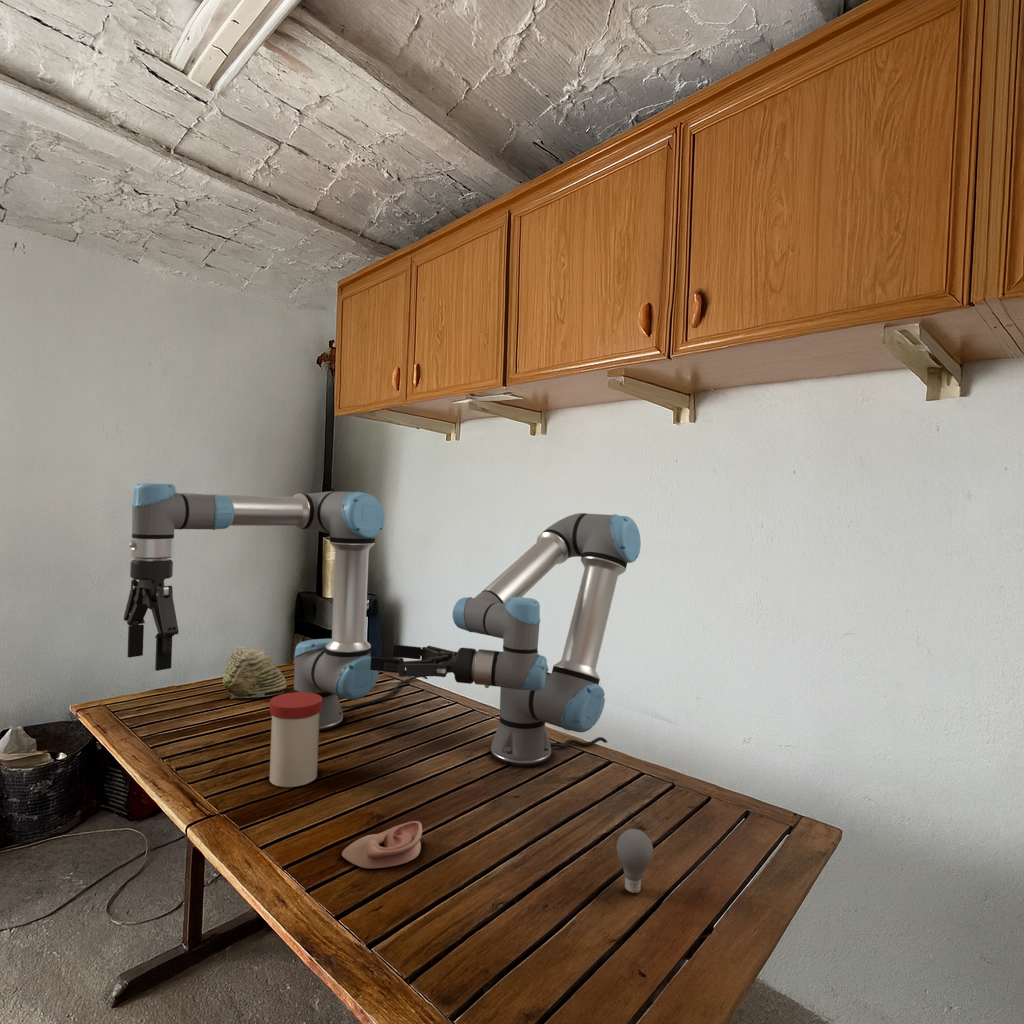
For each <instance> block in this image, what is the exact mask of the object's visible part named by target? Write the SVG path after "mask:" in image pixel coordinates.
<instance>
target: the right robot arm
mask: <svg viewBox="0 0 1024 1024" xmlns="http://www.w3.org/2000/svg"><path fill="white" fill-rule="evenodd" d="M639 530H640V529H639V527H638V524H637V523H636V522H635V521H634V519H633V518H631V517H630V516H627V515H620V514H616V513H615V514H602V513H587V512H586V513H585V512H580V513H573V514H571V515H568V516H566V517H563V518H561V519H559V520H558V521H556V522H554V523H552V524H551V525H550V526H548V527H547V528H545V530H543V531H542V532H541V533H540V534H539V535H538V536H537V539H536V542H535V543H534V544H533V545H532V546H531V547H530V548H529V549H528V550H527V551H526V552H524V553H523V554H522V555H521V556H520V557H518V558H517V560H516V561H514V562H513V563H512V564H511V565H510V566H509V567H507V568H506V569H505V570H504V571H503V572H502V573H500V574H499V576H498V577H496V578H495V579H494V580H493V581H492V582H491V583H489V584H488V585H487V586H486V587H485V588H484V589H483V590H482V591H480V592H479V593H478V594H477V595H476V596H474V597H471V596H469V597H467V596H464V597H461V598H459V599H458V600H457V601H456V602H455V604H454V606H453V607H452V608H453V609H452V620H453V623H454V625H455V626H456V627H457V628H458V629H461V630H464V631H466V632H469V633H474V634H479V635H484V636H489V637H492V638H497V639H502V642H503V643H502V651H499V650H493V649H485V648H484V649H483V648H479V649H478V650H476V648H472V647H460V648H458V650H457V651H453V650H449V649H446V648H441V647H437V646H432V645H426V646H423V647H421V646H412V645H403V644H393V646H392V647H393V648H392V657H393V658H388V657H381V656H370V657H371V665H370V670H375V671H379V672H384V673H385V672H386V673H393V674H398V677H399V678H400V677H401V678H403V677H407V678H412V677H418V676H426V677H439V678H447V675H448V674H451V673H453V675H454V681H455V682H456V683H458V684H467V685H472V684H473V683H474V684H475V685H478V686H479V685H480V686H484V688H486V689H488V688H490V687H498V688H500V689H499V690H500V693H499V721H498V722H499V723H498V726H497V729H496V732H495V733H494V737H493V739H492V741H491V746H490V755H491V757H492V758H493V759H494V760H496V761H497V762H499V763H502V764H504V765H507V766H511V767H526V768H527V767H534V766H540V765H544V764H545V763H547V762H549V761H550V760H551V758H552V747H554V748H559V749H561V748H562V749H565V748H566V747H568V745H569V744H574V745H577V746H580V747H589V746H593V745H595V744H597V743H598V742H603V743H604V744H606V743H608V740H607V739H606V738H604V737H602V736H599V737H596V738H594V739H593V740H590V741H588V742H586V741H585V742H583V741H580V740H575V739H567V740H566V741H565V742H564V743H558V742H557V743H556V742H550V739H549V735H548V731H547V728H546V724H549V725H552V726H554V727H558V728H561V729H563V730H565V731H572V732H575V733H586V732H588V731H590V730H591V729H593V727H594V726H595V725H596V724H597V722H598V721H599V720H600V718H601V716H602V713H603V710H604V707H605V703H606V702H605V701H606V698H605V691H604V689H603V687H602V686H601V685H600V680H601V677H600V676H599V674H598V672H597V665H598V661H599V658H600V653H601V649H602V645H603V641H604V636H605V633H606V628H607V624H608V620H609V615H610V611H611V608H612V603H613V598H614V594H615V590H616V586H617V582H618V577H619V576H620V575H622V574H624V573H625V572H626V571H627V566H628V564H631V563H634V562H636V561H637V559H638V557H639V555H640V552H641V541H642V540H641V534H640V531H639ZM575 557H577V558H578V557H579V558H580V563H582V565H583V567H584V570H583V574H582V578H581V581H580V585H579V589H578V592H577V597H576V601H575V605H574V609H573V614H572V617H571V621H570V624H569V629H568V633H567V636H566V640H565V644H564V648H563V651H562V656H561V659H560V660H559V661H558V662H556V663H555V664H553V666H552V670H551V672H549V666H548V661H547V660H548V659H547V658H546V657H547V656H545V655H541V654H539V650H538V648H539V637H540V636H539V635H540V622H541V616H540V615H541V605H540V602H539V601H538V600H537V599H536V598H532V597H524V596H525V595H526V594H527V593H528V592H530V591H531V589H532V588H534V587H535V585H536V584H538V582H540V581H541V580H542V579H543V578H544V577H545V576H546V575H547V574H548V573H549V572H550V571H551V570H552V569H553V568H554V567H555V566H556V565H561V564H563V563H565V562H566V561H567V560H568V559H572V558H575ZM398 658H399V659H398ZM404 659H410V660H404ZM418 678H419V677H418Z"/></svg>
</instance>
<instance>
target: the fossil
mask: <svg viewBox="0 0 1024 1024" xmlns="http://www.w3.org/2000/svg"><path fill="white" fill-rule="evenodd" d="M222 676H223V677H222V685H223V687H224V688H225V690H226V691H228V693H229V698H230V699H250V698H264V697H271V696H275V695H276V696H277V695H281V694H284V693H285V691H286V689H287V687H288V686H287V680H286V678H285V676H284V674H283V673H282V672H281V669H279V668H278V667H277V665H276V663H275V662H274V660H273V659H272V658H271V657H270V656H269V655H268V654H267V653H266V652H265V650H264V649H263V648H260V647H258V648H251V647H247V646H246V647H245V646H238V647H237V648H236V649H235V650H233V651H232V653H231V656H230V657H229V659H228V660H227V663H226V666H225V668H224V671H223V675H222Z"/></svg>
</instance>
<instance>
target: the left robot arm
mask: <svg viewBox="0 0 1024 1024" xmlns="http://www.w3.org/2000/svg"><path fill="white" fill-rule="evenodd" d="M385 515H386V513H385V511H384V508H383V505H382V503H381V502H380V501H379V500H378V498H377V497H375V495H373V494H370V493H367V492H363V491H362V492H361V491H337V490H336V491H335V490H333V491H332V490H330V491H321V492H311V493H295V494H294V495H293V496H276V495H275V496H274V495H273V496H272V495H248V494H247V495H246V494H244V495H243V494H220V493H219V494H218V493H217V494H216V493H215V494H214V493H189V492H187V493H186V492H177V491H176V486H175V485H174V484H173V483H152V482H139V483H137V484H136V485H135V486H134V488H133V492H132V501H131V520H132V521H131V542H130V543H128V547H129V548H130V549H131V550H130V556H131V558H133V559H132V560H131V561H130V567H129V568H130V571H129V574H130V575H129V576H130V578H131V581H130V590H129V594H128V598H127V603H126V607H125V610H124V615H123V621H124V622H126V624H127V626H128V629H127V630H128V631H127V658H135V657H142V656H144V635H145V634H144V630H145V625H144V624H145V623H146V621H145V619H144V618H145V616H146V615H147V612H148V609H149V610H151V613H152V618H153V620H154V624H155V627H156V631H157V633H156V635H155V636H154V638H155V661H154V663H155V665H154V668H155V669H154V670H155V671H157V672H159V671H164V670H169V669H172V659H173V657H172V655H173V637H175V636H176V635H179V632H180V631H179V625H178V619H177V615H176V614H177V613H176V609H175V603H174V597H173V595H174V593H173V585H165V580H167V579H171V578H172V577H173V575H174V573H173V572H174V561H173V560H172V559H171V558H173V557H174V554H175V553H174V552H175V530H213V531H215V530H224V529H228V528H230V526H233V527H234V526H237V527H238V526H240V527H243V526H246V527H247V526H249V527H250V526H258V527H259V526H268V527H269V526H276V527H277V526H282V527H284V526H285V527H286V526H287V527H288V526H289V527H290V526H291V527H293V528H294V529H296V530H308V531H309V530H310V531H316V532H319V533H325V534H329V544H330V545H331V546H332V547H333V548H334V550H335V551H334V572H333V573H334V577H333V599H332V625H331V626H332V627H331V638H317V639H308V640H304V641H300V642H299V643H297V645H296V646H295V650H294V655H293V657H294V672H293V673H294V674H293V692H309V693H315V694H318V695H320V696H321V697H322V710H321V711H320V720H319V732H325V731H329V730H332V729H335V728H337V727H339V726H340V725H342V723H343V722H344V714H343V709H352V708H357V707H362V706H365V705H369V704H372V703H375V702H379V701H383V700H384V699H387V698H389V697H390V696H392V695H393V694H394V693H395V692H396V691H397V689H398V688H400V687H401V686H402V685H404V684H405V683H407V682H410V681H413V680H415V679H418V678H423V679H425V680H428V676H418V677H409V678H406V679H404V680H402V681H401V682H399V683H398V684H397V685H396V686H395V687H394V688H393V689H392V691H391V692H389V693H388V694H386V695H383V696H381V697H378V698H375V699H370V700H368V701H364V702H360V703H355V704H350V705H341V702H340V699H339V698H341V699H342V700H343V699H344V700H348V701H349V700H350V701H357V700H360V699H362V698H364V697H365V696H367V695H368V694H370V692H371V690H372V689H374V687H375V685H376V683H377V682H378V678H379V674H380V671H375V670H370V665H371V657H372V656H371V652H372V649H371V648H372V644H371V643H370V642H368V640H367V639H366V631H367V607H368V606H367V605H368V604H367V602H368V582H369V581H368V579H369V555H370V553H369V552H370V550H371V548H372V547H374V545H375V544H376V536H378V535H379V534H380V533H381V530H383V528H384V526H385V522H386V521H385V520H386V516H385Z"/></svg>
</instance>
